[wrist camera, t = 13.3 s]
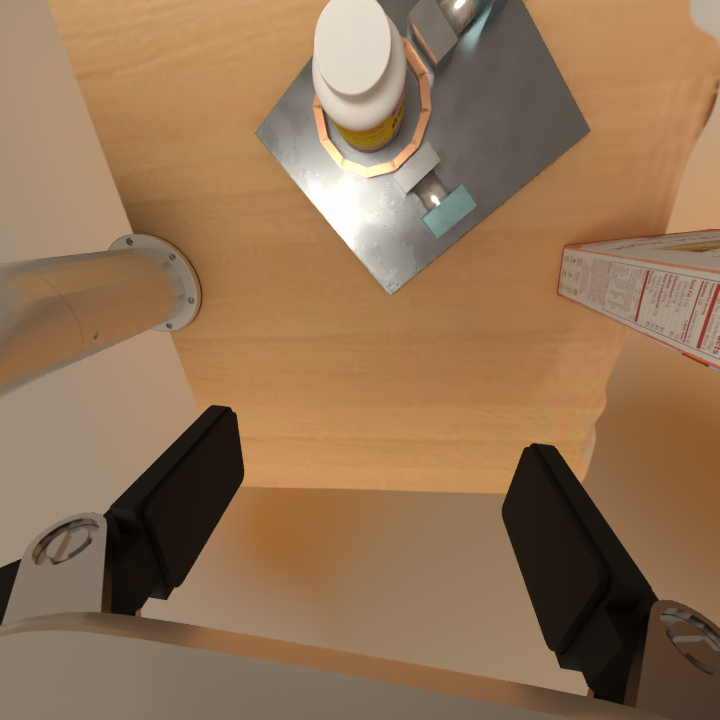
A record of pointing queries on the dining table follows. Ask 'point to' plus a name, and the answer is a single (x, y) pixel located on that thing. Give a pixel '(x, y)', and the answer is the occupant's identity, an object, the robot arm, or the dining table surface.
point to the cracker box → (653, 288)
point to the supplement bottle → (360, 72)
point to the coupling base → (433, 134)
